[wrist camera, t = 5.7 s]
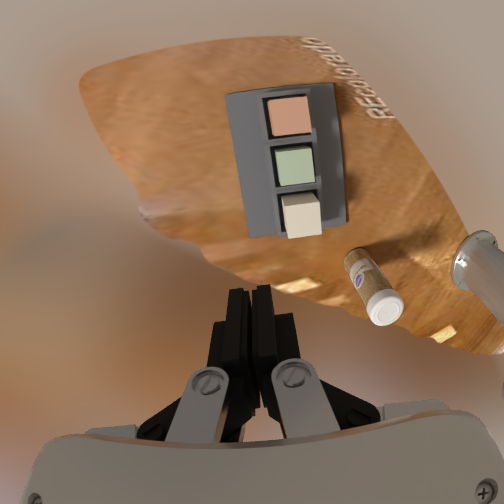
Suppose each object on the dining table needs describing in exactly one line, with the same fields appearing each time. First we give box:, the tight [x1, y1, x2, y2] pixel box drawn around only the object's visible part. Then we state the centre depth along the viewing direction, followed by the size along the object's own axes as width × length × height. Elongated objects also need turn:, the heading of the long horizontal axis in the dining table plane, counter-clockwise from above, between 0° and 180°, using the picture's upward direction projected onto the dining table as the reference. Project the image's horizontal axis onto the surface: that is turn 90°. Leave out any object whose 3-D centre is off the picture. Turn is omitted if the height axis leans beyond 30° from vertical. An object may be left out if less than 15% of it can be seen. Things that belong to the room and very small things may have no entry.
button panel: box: [225, 83, 346, 238], centre depth 36 cm, size 14×20×4 cm
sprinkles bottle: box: [344, 248, 404, 326], centre depth 38 cm, size 5×5×14 cm
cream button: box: [281, 192, 322, 239], centre depth 35 cm, size 4×4×4 cm
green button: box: [274, 145, 315, 186], centre depth 34 cm, size 4×4×4 cm
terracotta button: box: [267, 96, 312, 136], centre depth 30 cm, size 4×4×4 cm
